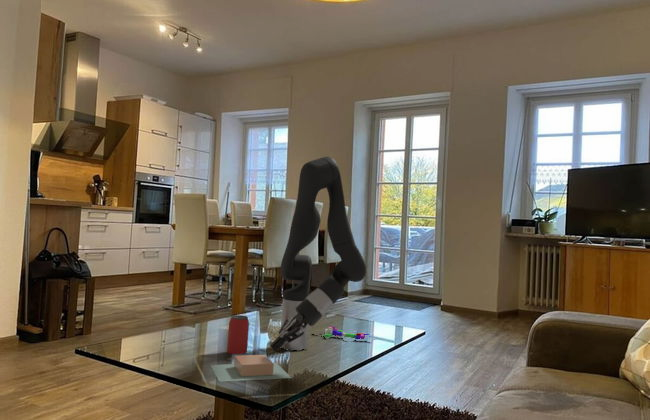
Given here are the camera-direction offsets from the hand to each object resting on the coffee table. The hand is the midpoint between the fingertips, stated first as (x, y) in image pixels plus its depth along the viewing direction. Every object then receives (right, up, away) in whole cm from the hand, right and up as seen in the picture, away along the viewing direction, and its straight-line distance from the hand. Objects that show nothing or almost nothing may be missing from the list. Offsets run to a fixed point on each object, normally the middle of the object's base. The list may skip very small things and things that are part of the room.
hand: (272, 348), depth 137 cm
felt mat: (-6, -6, -3) cm, 9 cm away
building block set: (+24, -13, +58) cm, 64 cm away
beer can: (-14, -7, +19) cm, 24 cm away
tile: (-1, -4, -1) cm, 4 cm away
